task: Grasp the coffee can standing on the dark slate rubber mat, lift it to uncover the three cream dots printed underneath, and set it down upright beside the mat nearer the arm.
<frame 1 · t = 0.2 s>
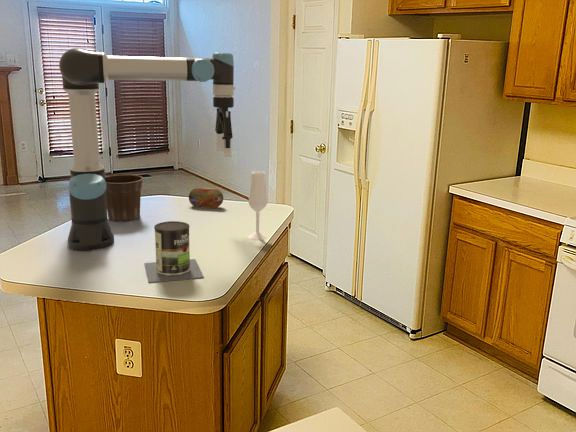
hand: (223, 153, 216), 28 cm above the worktop, tool pointing down, fingers open, 13 cm apart
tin: (206, 207, 249), on the worktop
dot mat: (173, 270, 175), on the worktop
champagne flute: (257, 237, 210), on the worktop
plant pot: (123, 218, 229), on the worktop
coffee can: (173, 270, 175), resting on dot mat
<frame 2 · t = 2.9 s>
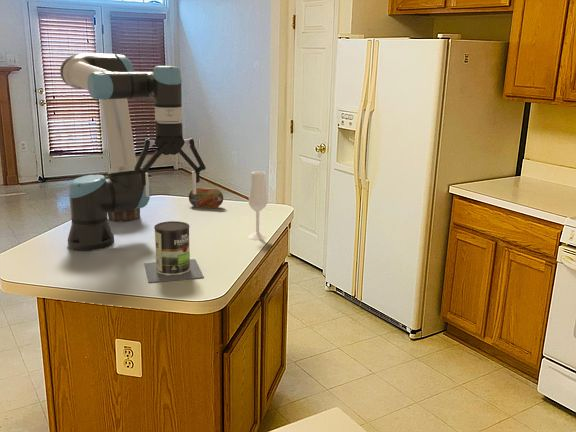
hand: (171, 194, 169), 24 cm above the worktop, tool pointing down, fingers open, 13 cm apart
nothing on the worktop moved.
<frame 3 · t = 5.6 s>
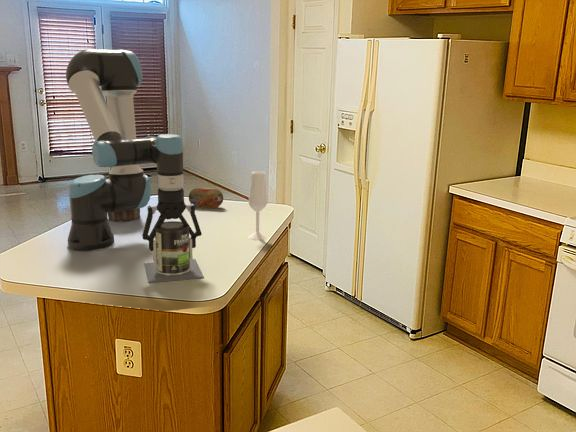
hand: (172, 259, 174), 4 cm above the worktop, tool pointing down, fingers closed on coffee can, 10 cm apart
coffee can: (173, 270, 175), resting on dot mat, touching gripper
everything else where it was.
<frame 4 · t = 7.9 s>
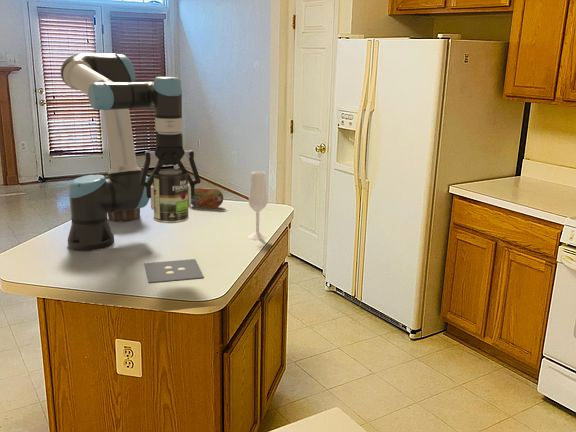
hand: (171, 207, 170), 20 cm above the worktop, tool pointing down, fingers closed on coffee can, 10 cm apart
coffee can: (171, 219, 171), point 16 cm above the worktop, touching gripper
everything else where it was.
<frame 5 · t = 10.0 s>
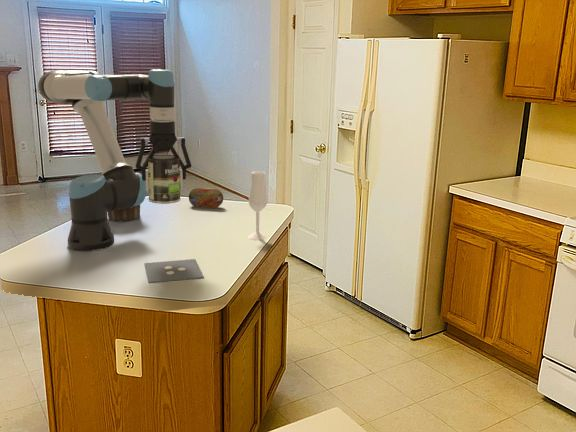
hand: (164, 189, 185), 21 cm above the worktop, tool pointing down, fingers closed on coffee can, 10 cm apart
coffee can: (164, 200, 186), point 18 cm above the worktop, touching gripper
everything else where it was.
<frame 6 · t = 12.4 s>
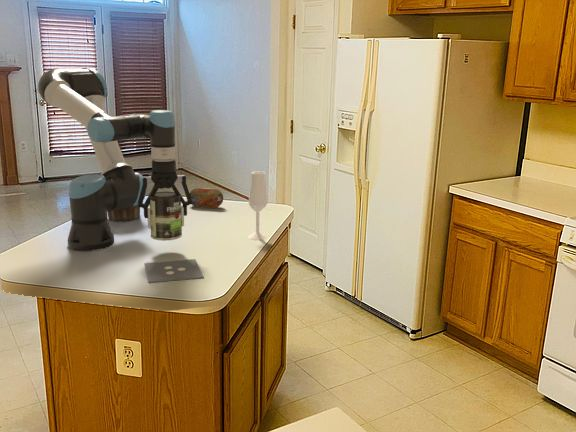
hand: (166, 226, 189), 9 cm above the worktop, tool pointing down, fingers closed on coffee can, 10 cm apart
coffee can: (166, 236, 190), point 5 cm above the worktop, touching gripper
everything else where it was.
when the fingers open (5 cm above the worktop, at t = 14.3 s): coffee can drops 2 cm, on the worktop.
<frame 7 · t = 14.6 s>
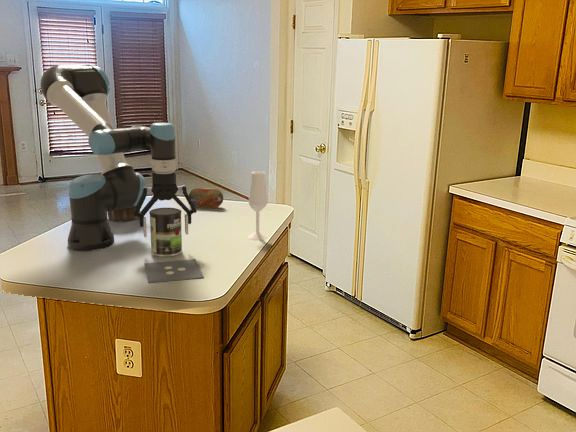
hand: (166, 234, 190), 6 cm above the worktop, tool pointing down, fingers open, 13 cm apart
coffee can: (166, 252, 192), on the worktop
everything else where it was.
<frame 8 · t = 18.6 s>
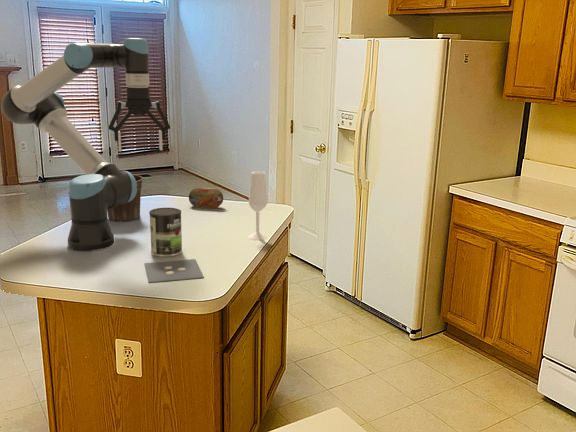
hand: (140, 150, 196), 32 cm above the worktop, tool pointing down, fingers open, 13 cm apart
nothing on the worktop moved.
at the end: coffee can inside the target area (0.1 cm from its centre), on the worktop; coffee can tilted 0°; the gripper is holding nothing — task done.
